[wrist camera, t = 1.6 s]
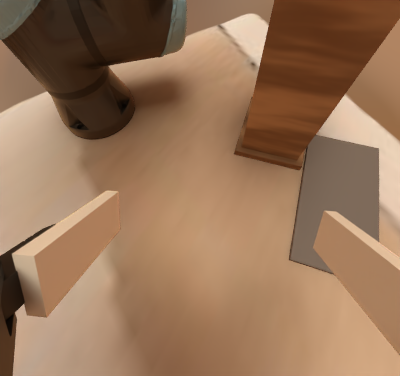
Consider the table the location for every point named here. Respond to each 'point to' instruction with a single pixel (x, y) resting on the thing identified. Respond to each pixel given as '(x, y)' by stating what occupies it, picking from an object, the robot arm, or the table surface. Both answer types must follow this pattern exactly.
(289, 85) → the walnut pedestal
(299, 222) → the rubber mat
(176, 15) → the robot arm
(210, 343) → the table surface
